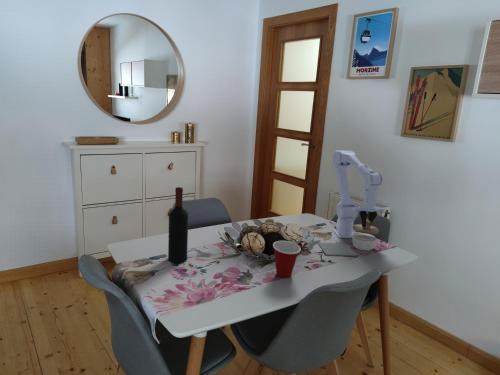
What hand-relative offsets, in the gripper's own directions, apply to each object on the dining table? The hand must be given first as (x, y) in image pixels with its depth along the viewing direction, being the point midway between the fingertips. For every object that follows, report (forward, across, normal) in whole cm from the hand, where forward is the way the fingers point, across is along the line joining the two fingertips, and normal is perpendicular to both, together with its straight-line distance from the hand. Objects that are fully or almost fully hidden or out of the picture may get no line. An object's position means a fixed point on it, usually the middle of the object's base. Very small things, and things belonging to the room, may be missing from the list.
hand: (366, 226), depth 178 cm
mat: (+10, -14, -4) cm, 18 cm away
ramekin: (+11, 0, 0) cm, 11 cm away
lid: (+2, 0, 0) cm, 2 cm away
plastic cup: (+11, -44, -30) cm, 54 cm away
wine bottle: (+11, -86, -18) cm, 89 cm away
